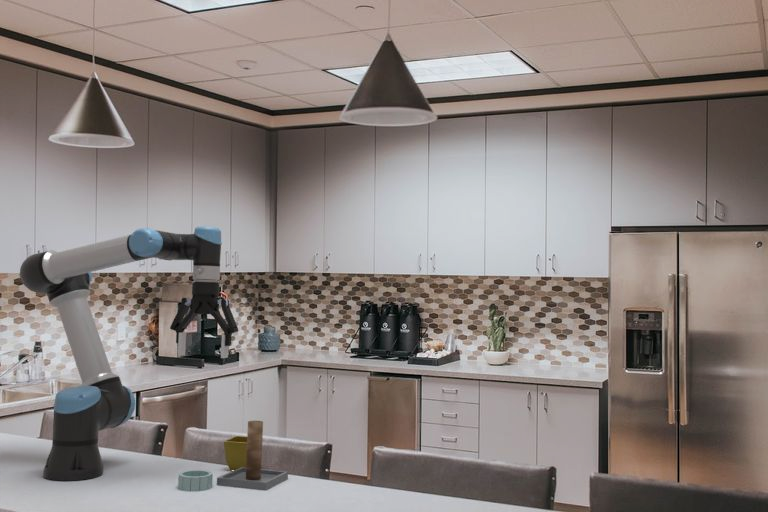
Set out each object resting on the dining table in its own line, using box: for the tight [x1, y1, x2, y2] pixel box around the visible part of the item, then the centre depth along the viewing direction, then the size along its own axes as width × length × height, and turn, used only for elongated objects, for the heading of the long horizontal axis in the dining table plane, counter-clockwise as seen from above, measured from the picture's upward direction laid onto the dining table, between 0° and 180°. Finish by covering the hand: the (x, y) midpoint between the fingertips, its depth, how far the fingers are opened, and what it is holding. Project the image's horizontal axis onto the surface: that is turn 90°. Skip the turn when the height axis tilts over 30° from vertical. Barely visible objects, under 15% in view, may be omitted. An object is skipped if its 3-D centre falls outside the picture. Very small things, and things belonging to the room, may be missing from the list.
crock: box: [177, 469, 214, 492], centre depth 199 cm, size 8×8×4 cm
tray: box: [216, 467, 289, 491], centre depth 206 cm, size 14×14×2 cm
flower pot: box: [223, 435, 264, 471], centre depth 222 cm, size 9×9×9 cm
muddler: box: [246, 420, 264, 480], centre depth 206 cm, size 4×4×15 cm
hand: (202, 356), depth 217 cm, fingers open, 13 cm apart
